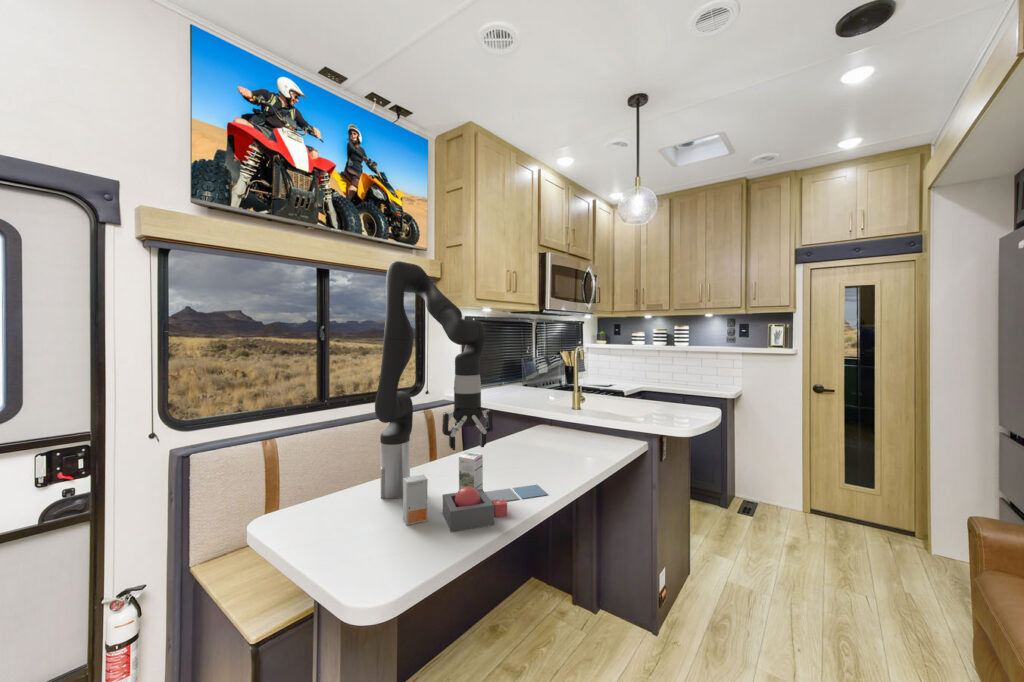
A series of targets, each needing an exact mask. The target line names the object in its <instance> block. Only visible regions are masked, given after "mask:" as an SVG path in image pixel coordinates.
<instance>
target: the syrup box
mask: <svg viewBox="0 0 1024 682" xmlns="http://www.w3.org/2000/svg"><path fill="white" fill-rule="evenodd" d="M483 456H484V455H483V453H477V452H469V451H467V452H464V453H462V454H461V455H459V456H458V491H459V490H460V489H461V488H463V487H467V486H469V487H473V488H474V489H476V490H480V489H483V490H484V485H483V484H484V483H483V480H484V479H483V478H484V476H483V474H484V473H483V472H484V471H483V468H484V464H483V463H484V459H483V458H484V457H483Z"/></svg>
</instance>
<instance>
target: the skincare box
mask: <svg viewBox="0 0 1024 682" xmlns="http://www.w3.org/2000/svg"><path fill="white" fill-rule="evenodd" d="M402 520H403V521H404V523H405V525H406V526H409V525H413V524H419V523H425V522H428V478H427V477H426V476H425V474H420V475H412V476H410V477H407V478H403V497H402Z"/></svg>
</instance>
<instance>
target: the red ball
mask: <svg viewBox="0 0 1024 682" xmlns="http://www.w3.org/2000/svg"><path fill="white" fill-rule="evenodd" d="M456 493H457V494H456V497H455V504H456V507H462V506H469V505H476V504H479V502H480V496H479V493H478V492H477V490H476V489H474V488H473V487H469V486H467V487H463V488H461V489H460V490H459V489H458V491H457V492H456Z"/></svg>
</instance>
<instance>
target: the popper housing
mask: <svg viewBox="0 0 1024 682" xmlns="http://www.w3.org/2000/svg"><path fill="white" fill-rule="evenodd" d="M477 492H478V493H479V496H480V502H479V504H476V505H469V506H462V507H456V504H455V497H456V494H457V492H451V493H446V494H445V493H444V494H442V515H443V517H444V520H445V522H446V525H447V526H448V527H447V528H448V530H449V531H450V533H454V532H459V531H465V530H471V528H473V529H477V528H478V527H479V528H482V527H484V526H485V527H489V526H488V525H490V526H494V525H495V518H499V517H498V516H500V517H505V516H504V515H507V516H508V502H507V501H505V500H504V499H498V500H492V502H491V500H490V499H489V498H488V496H487V495H486V493H485V492H486V491H484V488H483V489H480V490H477ZM494 515H495V516H494ZM485 527H484V528H485Z"/></svg>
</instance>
